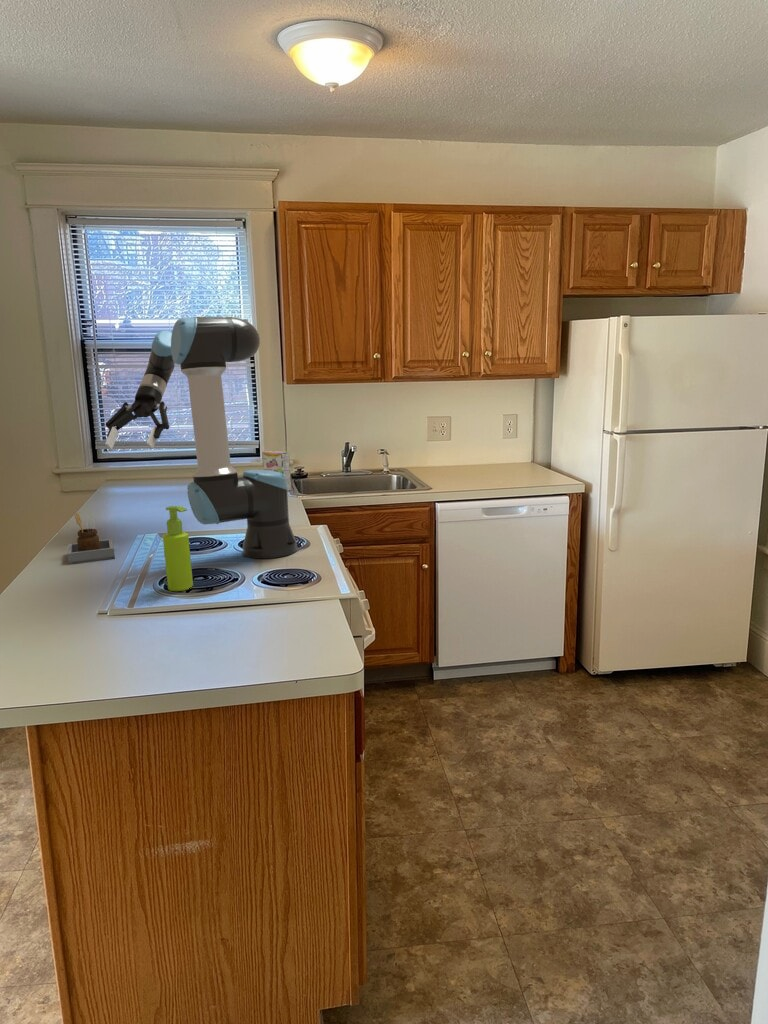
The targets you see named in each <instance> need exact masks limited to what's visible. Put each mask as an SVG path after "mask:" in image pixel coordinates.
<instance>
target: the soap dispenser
mask: <svg viewBox="0 0 768 1024" xmlns="http://www.w3.org/2000/svg"><path fill="white" fill-rule="evenodd" d="M165 510H166V511H169V519H168V520H166V528H167V533H166V534H163V535H162V542H163V543H162V545H163V553H164V561H165V573H166V581H167V582H166V583H167V590H169V591H171V592H183V591H187V590H190V589H191V588H190V587H192V586H193V587H194V582H193V581H194V580H193V573H192V572H193V570H192V559H191V551H190V549H191V548H190V541H189V540H190V539H189V538H190V537H189V533H188V532H185V531H184V532H183V522H182V519H180V518H178V512H179V513H183V512H187V510H188V509H187V508H186V507H184V506H179V505H171V506H167V507H165ZM193 587H192V588H193ZM189 588H190V589H189Z"/></svg>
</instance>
